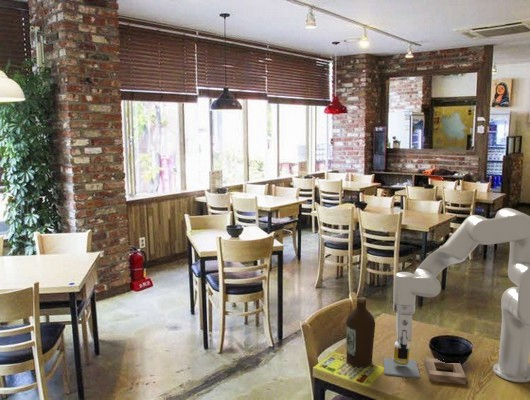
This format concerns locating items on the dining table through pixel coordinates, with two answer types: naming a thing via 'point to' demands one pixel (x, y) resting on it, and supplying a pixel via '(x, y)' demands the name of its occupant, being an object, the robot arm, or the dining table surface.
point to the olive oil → (360, 335)
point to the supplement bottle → (395, 357)
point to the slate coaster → (401, 368)
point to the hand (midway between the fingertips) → (401, 353)
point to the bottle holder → (440, 376)
